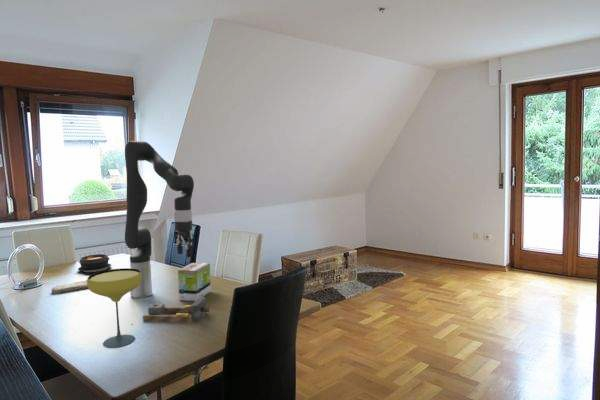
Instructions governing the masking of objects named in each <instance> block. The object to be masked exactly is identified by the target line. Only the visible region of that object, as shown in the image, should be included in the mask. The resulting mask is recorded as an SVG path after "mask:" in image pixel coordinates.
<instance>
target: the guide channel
mask: <svg viewBox="0 0 600 400" xmlns="http://www.w3.org/2000/svg"><path fill="white" fill-rule="evenodd" d="M209 312H210V307H209V306H207V297H206V296H203V297H199V298H198V299H197V300H196V301H193V303H192V304H191V305H190V304H189V305H188V304H187V305H186V304H185V305H184V306H165V315H149V314H143V316H142V322H143V323H181V324H182V323H185V324H186V323H189V324H191V323H192V324H193V323H194V324H199V322H200V321H201V320H202V319H203V318H204V317H205V315H206V314H207V313H209Z"/></svg>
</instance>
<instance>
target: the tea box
mask: <svg viewBox="0 0 600 400" xmlns="http://www.w3.org/2000/svg"><path fill="white" fill-rule="evenodd" d="M177 271H178V272H177V273H178V274H177V276H178V280H177V281H178V299H179V301H189V302H190V301H191V302H192V301H193V302H195V301H196V300H197V299H198V298H199V297H205V296H206V295H208V294H209V293H210V292H211V291H212V290H211V289H212V288H211V265H210V263H207V262H205V263H204V262H191V263H189V264H188V265H185V266H183V267H181V268H180V269H178V270H177Z"/></svg>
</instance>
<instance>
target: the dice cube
mask: <svg viewBox="0 0 600 400" xmlns="http://www.w3.org/2000/svg"><path fill="white" fill-rule="evenodd" d="M165 307H166V306H165V303H152V304H150V306H149V307H148V308H147V309H148V315H166V314H165Z"/></svg>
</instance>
